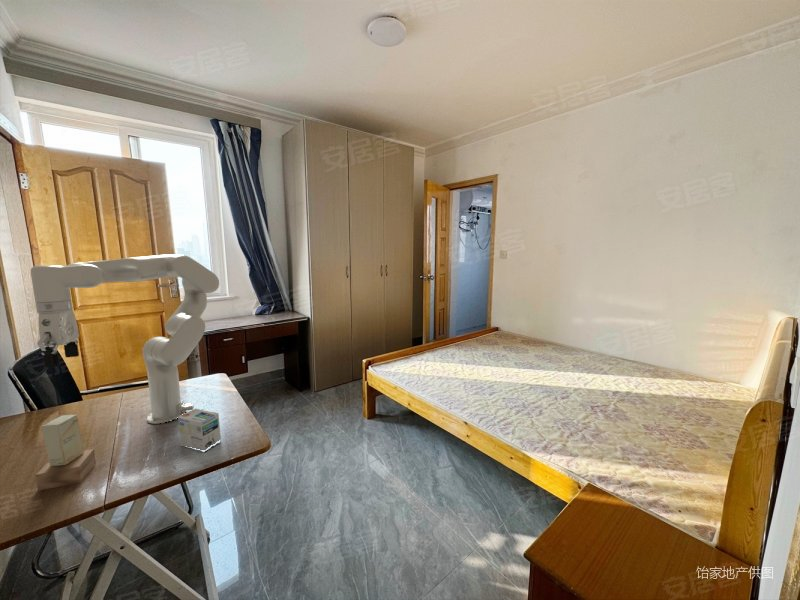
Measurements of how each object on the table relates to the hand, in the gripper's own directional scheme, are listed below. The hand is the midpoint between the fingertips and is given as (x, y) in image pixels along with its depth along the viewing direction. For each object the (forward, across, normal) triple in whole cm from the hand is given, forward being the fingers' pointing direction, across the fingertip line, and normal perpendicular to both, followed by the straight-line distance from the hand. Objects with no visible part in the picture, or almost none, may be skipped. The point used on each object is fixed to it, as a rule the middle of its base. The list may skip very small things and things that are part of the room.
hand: (63, 361), depth 102 cm
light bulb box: (+31, -8, -37) cm, 48 cm away
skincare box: (+26, -13, -4) cm, 29 cm away
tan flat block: (+31, -14, -4) cm, 34 cm away
